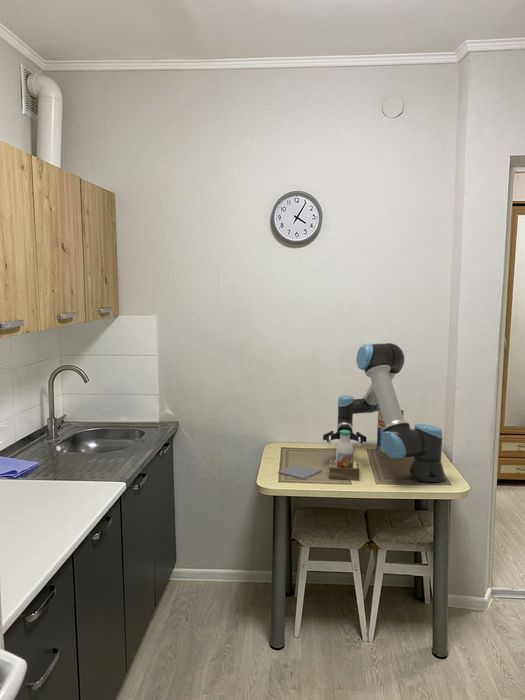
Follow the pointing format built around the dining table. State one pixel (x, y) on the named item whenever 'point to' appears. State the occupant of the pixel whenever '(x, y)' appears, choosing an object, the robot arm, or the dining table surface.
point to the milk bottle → (344, 451)
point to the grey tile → (299, 471)
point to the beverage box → (381, 430)
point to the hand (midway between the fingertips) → (344, 443)
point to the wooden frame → (343, 472)
